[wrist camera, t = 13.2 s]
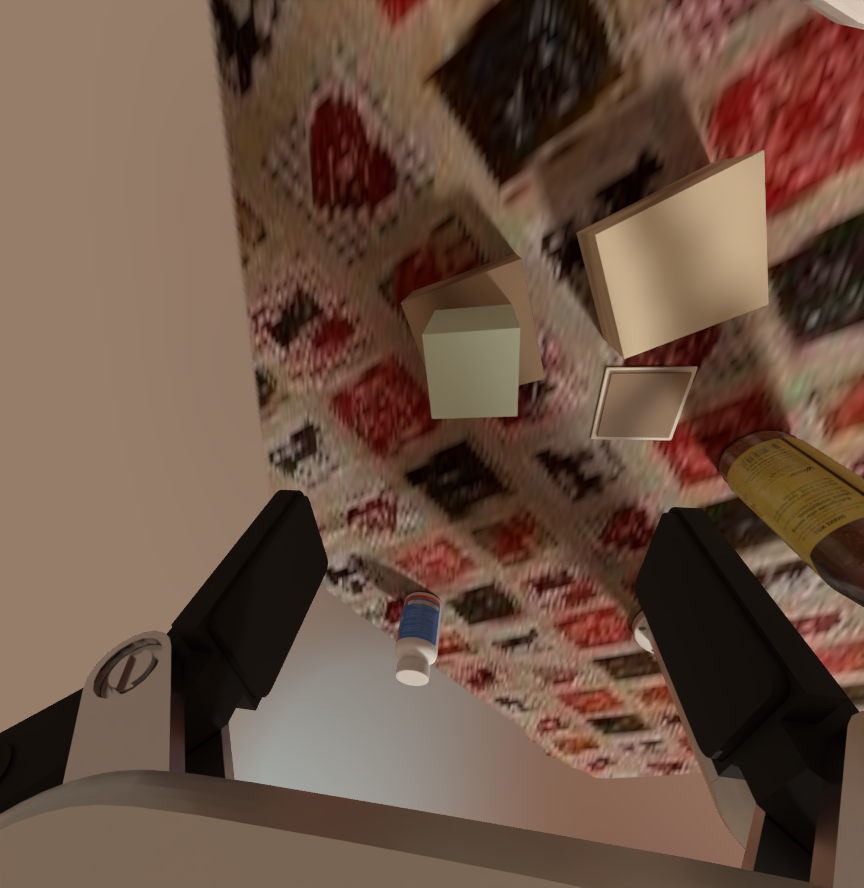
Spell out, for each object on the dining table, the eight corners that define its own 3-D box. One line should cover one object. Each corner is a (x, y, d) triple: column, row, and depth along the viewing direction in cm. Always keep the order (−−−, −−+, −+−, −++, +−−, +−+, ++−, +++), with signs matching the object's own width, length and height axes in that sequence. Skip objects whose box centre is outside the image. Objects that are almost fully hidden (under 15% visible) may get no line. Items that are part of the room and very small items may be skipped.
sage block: (511, 304, 22) (520, 327, 17) (510, 377, 25) (517, 416, 20) (435, 310, 23) (422, 334, 18) (441, 380, 26) (431, 418, 21)
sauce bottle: (706, 484, 33) (930, 747, 17) (725, 428, 30) (1027, 684, 13) (786, 481, 32) (1114, 761, 15) (814, 422, 29) (1268, 696, 12)
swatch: (696, 366, 28) (699, 368, 27) (670, 439, 31) (672, 441, 31) (606, 367, 28) (607, 369, 28) (590, 437, 32) (591, 440, 32)
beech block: (708, 164, 21) (763, 149, 17) (720, 290, 25) (768, 304, 21) (575, 232, 24) (595, 234, 20) (602, 338, 27) (624, 359, 23)
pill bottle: (399, 591, 48) (382, 666, 40) (436, 588, 47) (426, 665, 39) (411, 614, 51) (398, 689, 43) (446, 612, 50) (439, 689, 42)
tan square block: (514, 252, 25) (521, 258, 21) (535, 355, 29) (544, 378, 25) (413, 290, 27) (400, 303, 23) (445, 381, 31) (439, 406, 27)
